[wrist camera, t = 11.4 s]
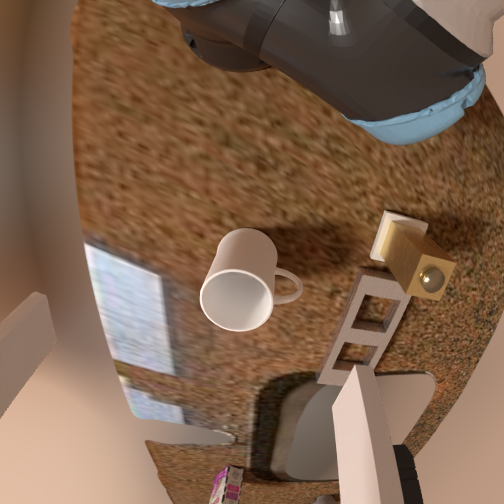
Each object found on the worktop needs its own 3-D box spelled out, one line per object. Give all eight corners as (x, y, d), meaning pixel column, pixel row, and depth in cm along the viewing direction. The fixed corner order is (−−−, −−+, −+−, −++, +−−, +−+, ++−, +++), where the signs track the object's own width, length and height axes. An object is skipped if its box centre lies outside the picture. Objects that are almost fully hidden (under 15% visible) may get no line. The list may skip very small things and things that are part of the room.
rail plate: (359, 266, 44) (362, 274, 42) (410, 277, 44) (416, 285, 41) (315, 373, 53) (316, 383, 51) (360, 378, 53) (362, 387, 51)
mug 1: (306, 240, 43) (315, 284, 32) (290, 292, 46) (292, 345, 36) (222, 221, 43) (202, 258, 32) (212, 275, 46) (193, 323, 35)
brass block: (391, 220, 40) (425, 257, 29) (420, 229, 40) (459, 266, 29) (379, 253, 42) (407, 298, 31) (409, 260, 42) (442, 304, 31)
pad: (384, 210, 40) (386, 212, 39) (425, 222, 40) (428, 224, 39) (369, 255, 43) (371, 258, 42) (409, 265, 43) (412, 267, 42)
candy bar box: (227, 463, 70) (219, 514, 55) (244, 468, 71) (238, 518, 56) (213, 475, 75) (204, 521, 60) (229, 480, 75) (222, 525, 60)
